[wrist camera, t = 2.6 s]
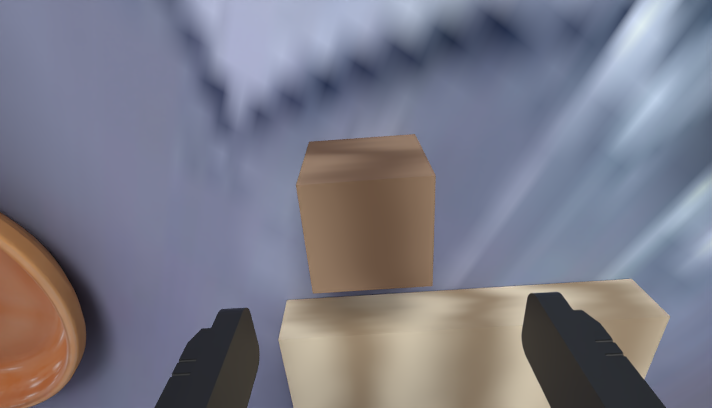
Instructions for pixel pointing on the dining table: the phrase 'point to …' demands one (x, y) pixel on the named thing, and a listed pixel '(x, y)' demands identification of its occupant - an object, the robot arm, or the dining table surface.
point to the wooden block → (444, 344)
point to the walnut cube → (367, 213)
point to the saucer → (35, 321)
